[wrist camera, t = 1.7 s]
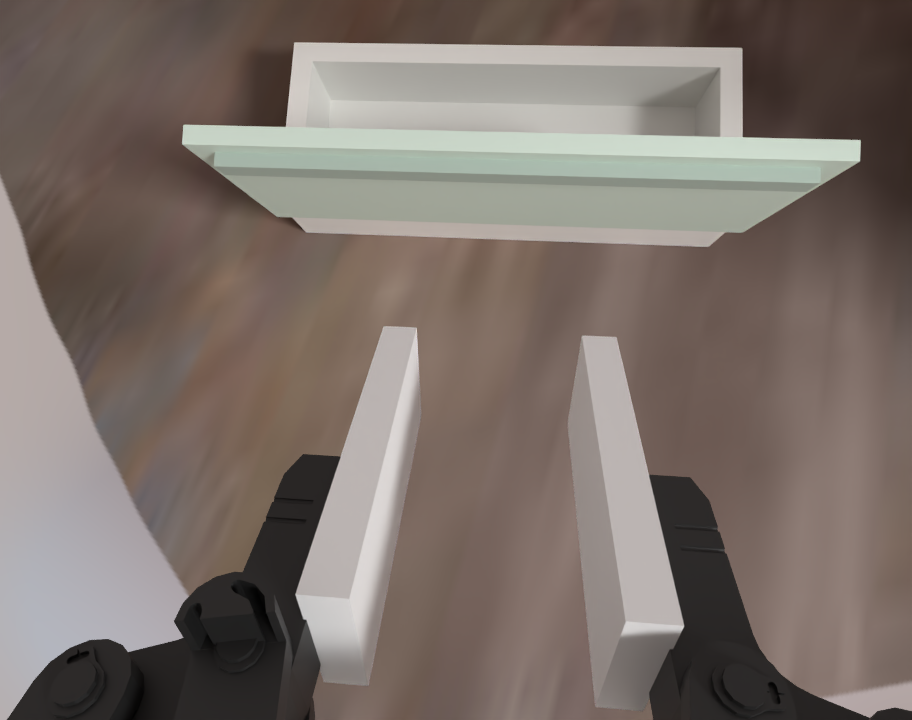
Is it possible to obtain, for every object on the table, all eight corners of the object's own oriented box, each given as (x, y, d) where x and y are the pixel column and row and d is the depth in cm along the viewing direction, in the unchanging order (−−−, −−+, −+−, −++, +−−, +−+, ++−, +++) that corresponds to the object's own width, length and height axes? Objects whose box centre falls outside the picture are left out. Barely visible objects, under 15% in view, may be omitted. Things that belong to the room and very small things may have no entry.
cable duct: (709, 99, 37) (742, 47, 32) (708, 246, 36) (742, 217, 31) (319, 91, 39) (294, 42, 34) (306, 232, 38) (278, 202, 33)
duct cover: (860, 140, 21) (859, 177, 21) (742, 218, 31) (741, 243, 31) (183, 124, 23) (181, 159, 23) (278, 203, 33) (276, 227, 33)
